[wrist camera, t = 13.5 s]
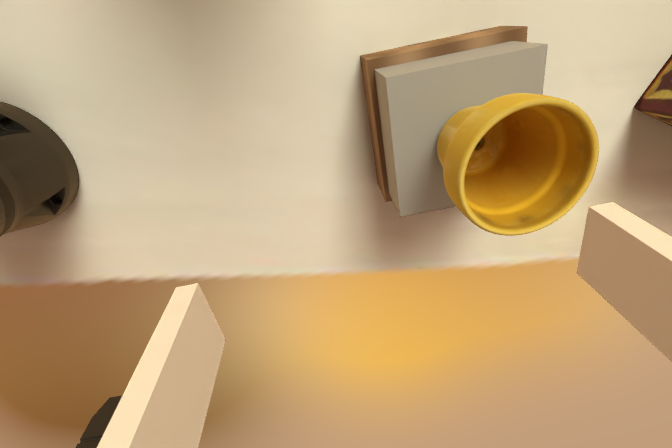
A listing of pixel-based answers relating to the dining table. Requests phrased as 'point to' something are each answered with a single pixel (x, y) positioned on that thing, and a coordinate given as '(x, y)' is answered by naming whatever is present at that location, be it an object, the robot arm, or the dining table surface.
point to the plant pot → (518, 161)
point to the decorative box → (659, 95)
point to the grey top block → (443, 111)
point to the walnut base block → (414, 54)
